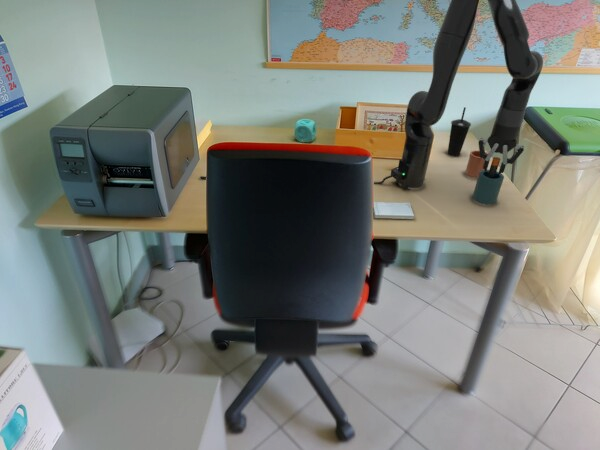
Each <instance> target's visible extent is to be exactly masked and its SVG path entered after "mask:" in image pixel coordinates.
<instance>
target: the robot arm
mask: <svg viewBox="0 0 600 450" xmlns="http://www.w3.org/2000/svg"><path fill="white" fill-rule="evenodd" d="M479 3H480V0H451V1H450V3H449V5H448V7H447V9H446V10H447V11H446V12H445V15H444V18H443V21H442V24H441V26H440V28H439V31H438V33H437V36H436V40H435V42H434V44H433V51H432V78H431V81H430V85H429V88H428V91H426V90H419V91H417V92H415V93H414V94H413V95H412V96H411V97H410V99H409V101H408V103H407V107H406V112H405V121H404V132H405V139H404V144H403V150H402V156H401V158H400V159H399V160H398V166H397V168H392V169H390V175H388V176H386V177H384V178H383V179H382V181H377V182H374V181H373V182H374V184H373V185H382V184H384V182H385V181H386V180H388V179H391V178H393V179H394V180H395V184H397V185H398V186H399V187H401V188H402V189H403V190H404V191H412V190H417V189H421V188H423V187H424V186H425V182H426V180H427V178H426V175H427V171H428V165H429V161H430V158H431V157H430V156H431V152H432V148H433V141H434V136H435V135H434V131H433V130H432V127H431V126H434V125H436V124H437V123H438V122H439V121H440V120H442V117H443V116H444V113H445V110H446V108H447V104H448V101H449V97H450V93H451V90H452V86H453V83H454V81H455V77H456V75H457V73H458V70H459V68H460V64H461V62H462V59H463V57H464V55H465V52H466V50H467V47H468V45H469V43H470V40H471V37H472V34H473V31H474V27H475V24H476V17H477V12H478V7H479ZM487 3H488V7H489V10H490V13H491V18H492V21H493V25H494V28H495V30H496V33H497V36H498V39H499V41H500V43H501V46H502V47H503V56H504V61H505V66H506V69H507V72H508V74H509V75H510V77H511V78H512V79H511V82H510V84H508V86H507V87H506V89H505V90H504V92H503V96H502V99H501V101H500V106H499V108H498V110H497V113H496V115H495V119H494V122H493V126H492V130H491V133H490V135H489V137H488V138H482V137H481V138H479V140H478V151H480V157H481V158H483V159H485V162H484V166H483V169H485V170H484V171H487V170H488V168H489V165H490V161H491V158H492V156H493V155H494V153H496V154H497V153H499V154H501V155H502V161H501V163H500V166H499V171H498V172H499V173H498V174H503V173H505V170H506V166H507V165H508V164H510V165H513V164H514V163H515V162H516V160H517V159H518V158H519V157H520V156H521V155H522V153H523V152H524V151H525V146H524V145H520V144H518V141H517V140H518V136H519V133H520V130H521V127H522V124H523V122H524V118H525V114H526V109H527V107H528V104H529V101H530V96H531V94H532V91H533V89H534V87H535V85H536V83H537V81H538V79H539V78H540V76H541V73H542V70H543V66H544V58H543V55H542V54H541V53H540V52H539V51H536V50H531V49H530V46H529V45H530V44H529V39H530V31H529V29H528V26H527V23H526V20H525V19H524V15H523V13H522V11H521V9H520V6H519V4H518V1H517V0H487ZM487 144H488V146H489V148H490V149H489V151H488V154H485V152H486V150H485V149H486V148H485V146H487ZM513 149H514V153H513V154H512V156H511V157H510V158H509V152H511V150H513ZM206 177H207V176H203V175H202V176H200V179H202V180H204V179H205V178H206Z"/></svg>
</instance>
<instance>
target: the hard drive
mask: <svg viewBox="0 0 600 450" xmlns="http://www.w3.org/2000/svg"><path fill="white" fill-rule="evenodd" d="M373 202H374V208H372V211H373V217H374V219H391V220H392V219H394V220H415V214H414V212H413V211H414V210H413V209H412V206H411V203H410V202H390V201H388V202H386V201H373Z"/></svg>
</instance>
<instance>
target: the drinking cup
mask: <svg viewBox="0 0 600 450" xmlns="http://www.w3.org/2000/svg"><path fill="white" fill-rule="evenodd" d="M466 109H467V107H463V111H462V114H461V118H459V119H453V120H451V122H450V124H451V125H450V133H449V140H448V146H447V147H448V148H447V155H448V156H451V157H459V156H460V154H461V152H462V149H463V147H464V143H465V141H466V138H467V135H468V133H469V130H470V127H471V126H472V123H471V122H470V121H468V120H465V119H464V117H465V112H466Z"/></svg>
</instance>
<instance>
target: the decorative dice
mask: <svg viewBox="0 0 600 450" xmlns="http://www.w3.org/2000/svg"><path fill="white" fill-rule="evenodd" d="M316 134H317V124H316V122H315V121H314V120H312V119H308V118H307V119H306V118H303V119H302V118H301V119H299V120H297V121H296V123H295V126H294V138H295V139H296V141H297V142H300V143H304V142H307V143H312V142H313V141H314V140H315V138H316ZM302 140H303V141H302Z"/></svg>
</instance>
